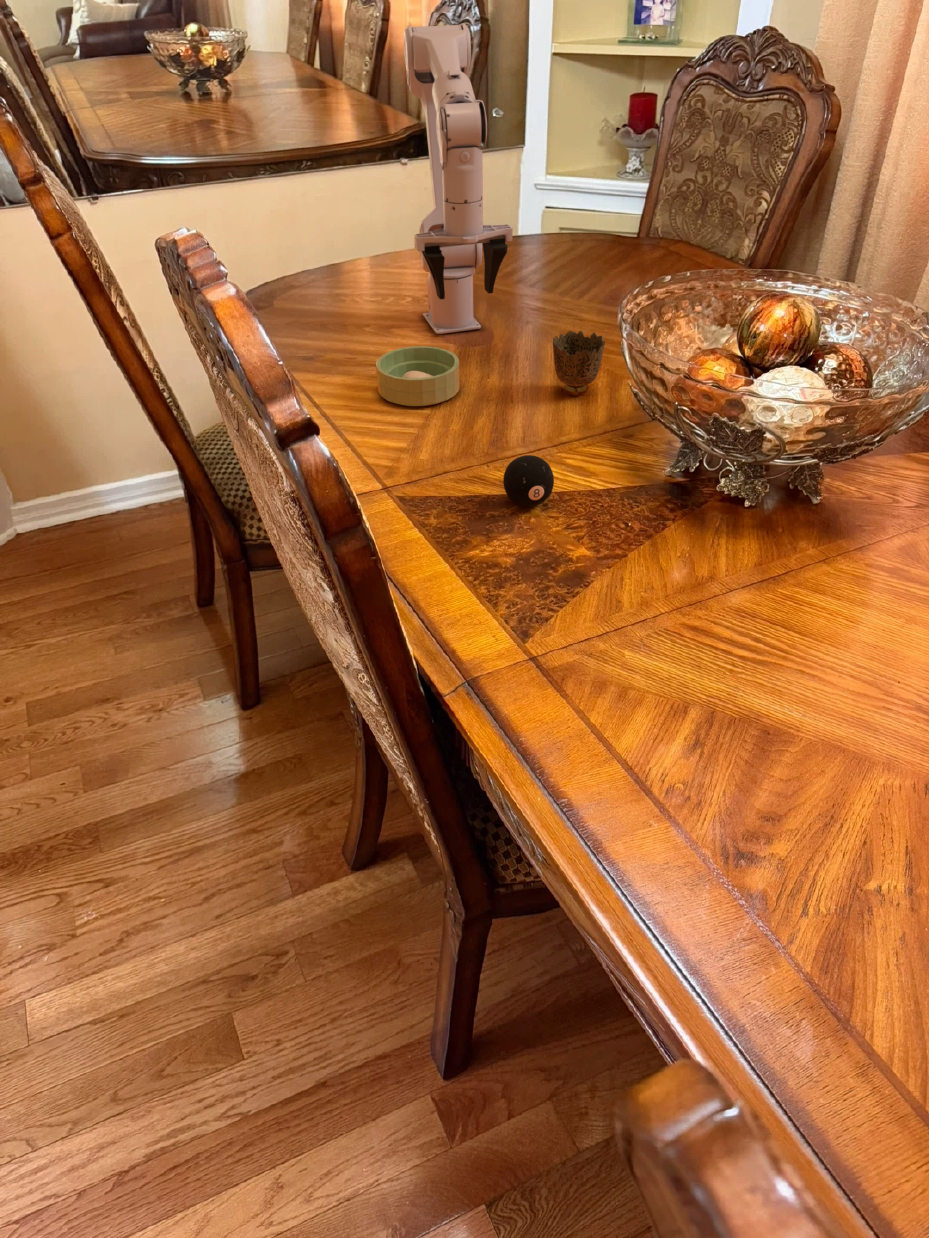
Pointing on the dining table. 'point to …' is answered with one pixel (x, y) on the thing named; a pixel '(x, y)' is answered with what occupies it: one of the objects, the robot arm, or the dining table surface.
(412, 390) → the bowl
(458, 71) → the robot arm
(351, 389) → the dining table surface
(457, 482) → the dining table surface
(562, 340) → the cup
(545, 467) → the billiard ball
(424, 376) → the seashell
